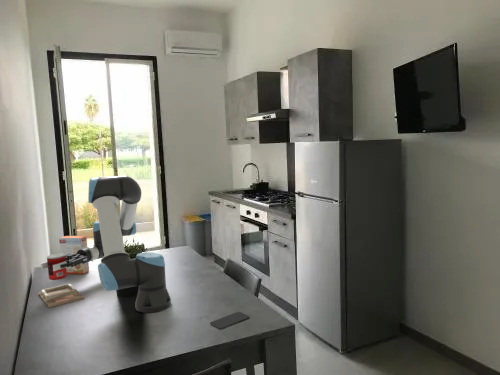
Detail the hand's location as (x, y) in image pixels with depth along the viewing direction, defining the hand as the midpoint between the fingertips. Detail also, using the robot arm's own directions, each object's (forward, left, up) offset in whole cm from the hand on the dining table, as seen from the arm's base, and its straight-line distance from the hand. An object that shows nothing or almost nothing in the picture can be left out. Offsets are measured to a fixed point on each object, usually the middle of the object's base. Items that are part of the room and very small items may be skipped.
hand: (47, 267), depth 185 cm
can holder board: (-1, -4, -15) cm, 16 cm away
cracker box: (+35, -20, -15) cm, 43 cm away
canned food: (+2, -4, -7) cm, 8 cm away
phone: (-78, -48, -16) cm, 93 cm away
